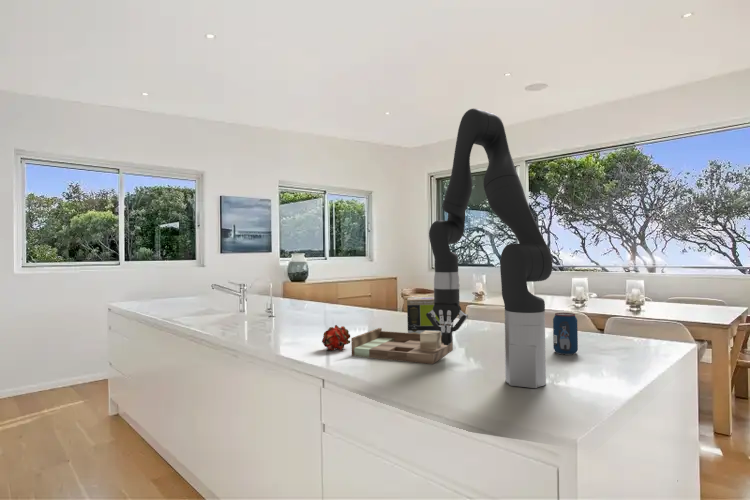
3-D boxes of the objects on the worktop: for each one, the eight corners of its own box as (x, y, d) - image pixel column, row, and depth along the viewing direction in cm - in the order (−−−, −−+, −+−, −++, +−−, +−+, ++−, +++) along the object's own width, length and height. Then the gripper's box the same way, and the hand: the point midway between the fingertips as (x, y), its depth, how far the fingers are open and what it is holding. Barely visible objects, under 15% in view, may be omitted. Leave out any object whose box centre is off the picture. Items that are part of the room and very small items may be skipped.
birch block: (436, 349, 137) (436, 334, 137) (420, 348, 140) (420, 333, 140) (441, 346, 142) (441, 331, 142) (425, 345, 144) (425, 330, 144)
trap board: (433, 363, 130) (433, 344, 130) (351, 356, 141) (351, 338, 141) (452, 349, 148) (452, 332, 148) (379, 343, 159) (378, 327, 159)
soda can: (570, 350, 146) (569, 312, 146) (582, 354, 139) (581, 315, 139) (549, 350, 145) (548, 312, 145) (560, 355, 138) (560, 315, 138)
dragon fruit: (349, 351, 156) (328, 363, 146) (331, 334, 159) (309, 346, 149) (360, 332, 152) (339, 344, 142) (341, 316, 155) (319, 326, 145)
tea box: (448, 335, 174) (447, 296, 174) (449, 340, 164) (449, 299, 164) (408, 335, 175) (407, 296, 175) (407, 340, 165) (406, 299, 165)
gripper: (421, 287, 138) (422, 345, 138) (465, 288, 133) (465, 349, 133) (429, 285, 145) (430, 340, 145) (471, 286, 139) (472, 344, 139)
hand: (447, 344), depth 139 cm, fingers closed
